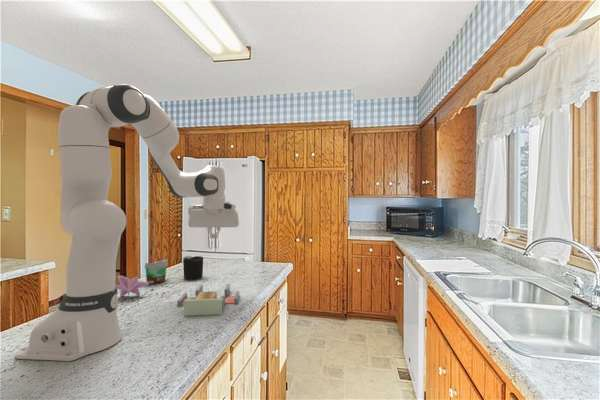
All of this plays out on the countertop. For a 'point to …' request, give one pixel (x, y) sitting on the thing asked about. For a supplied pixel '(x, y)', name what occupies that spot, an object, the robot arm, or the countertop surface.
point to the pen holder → (193, 268)
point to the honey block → (207, 295)
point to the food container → (156, 271)
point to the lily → (129, 285)
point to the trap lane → (206, 303)
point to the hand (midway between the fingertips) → (214, 238)
